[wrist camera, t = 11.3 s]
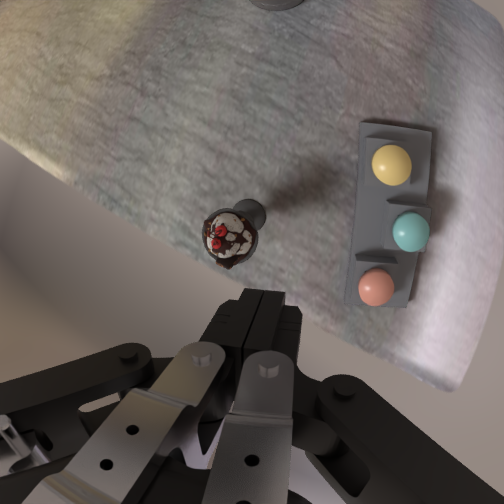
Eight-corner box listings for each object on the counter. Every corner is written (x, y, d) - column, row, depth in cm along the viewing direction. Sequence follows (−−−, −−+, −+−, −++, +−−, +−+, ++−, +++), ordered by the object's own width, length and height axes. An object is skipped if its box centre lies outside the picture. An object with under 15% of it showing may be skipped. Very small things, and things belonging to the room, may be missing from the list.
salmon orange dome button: (358, 259, 42) (362, 271, 38) (391, 262, 41) (397, 274, 37) (354, 290, 44) (356, 304, 40) (385, 292, 43) (390, 306, 39)
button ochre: (368, 142, 36) (374, 142, 32) (404, 146, 35) (412, 147, 32) (366, 179, 38) (372, 183, 34) (401, 182, 37) (409, 187, 33)
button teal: (390, 205, 38) (397, 212, 35) (422, 209, 37) (432, 216, 34) (385, 239, 40) (391, 250, 36) (417, 242, 39) (426, 253, 35)
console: (359, 122, 37) (363, 121, 34) (428, 132, 35) (438, 131, 32) (343, 299, 47) (345, 312, 43) (404, 303, 45) (409, 316, 41)
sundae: (242, 183, 44) (206, 206, 30) (280, 213, 44) (261, 249, 30) (217, 218, 46) (173, 254, 33) (253, 246, 47) (223, 294, 33)
